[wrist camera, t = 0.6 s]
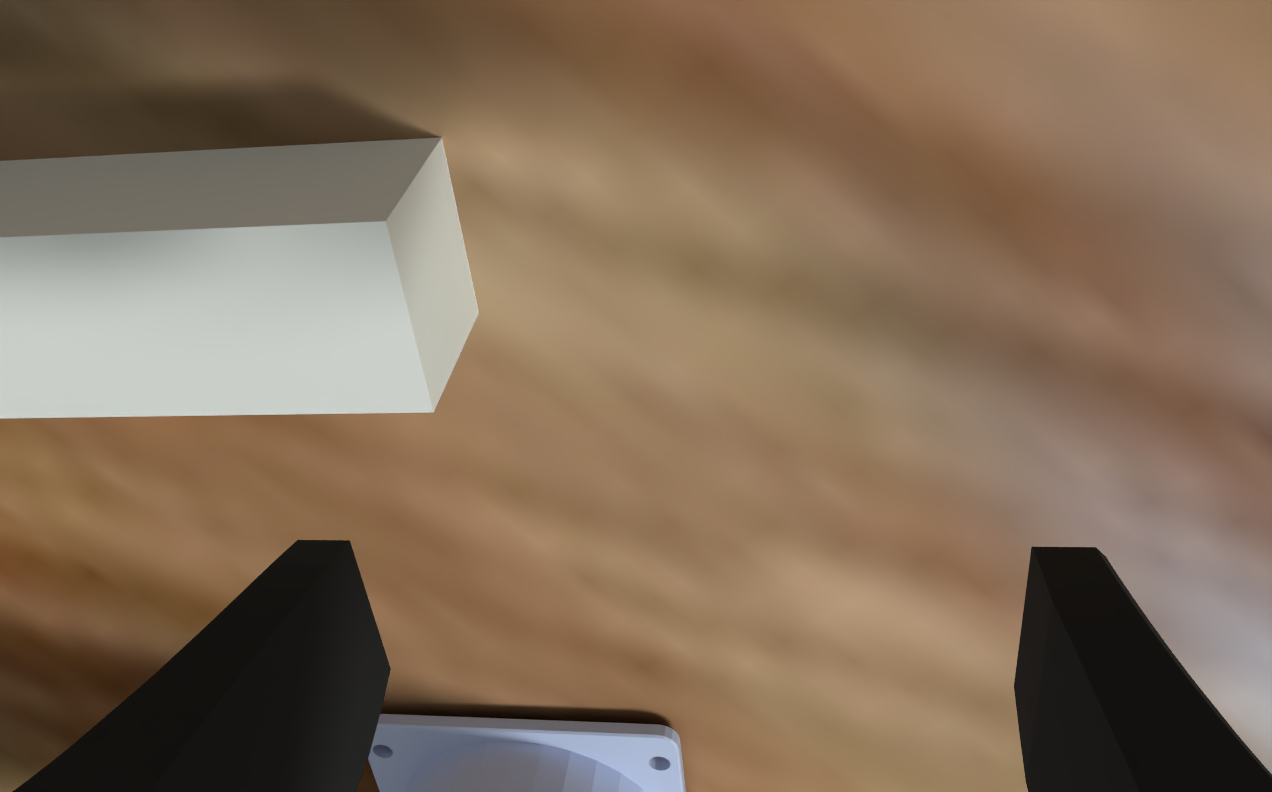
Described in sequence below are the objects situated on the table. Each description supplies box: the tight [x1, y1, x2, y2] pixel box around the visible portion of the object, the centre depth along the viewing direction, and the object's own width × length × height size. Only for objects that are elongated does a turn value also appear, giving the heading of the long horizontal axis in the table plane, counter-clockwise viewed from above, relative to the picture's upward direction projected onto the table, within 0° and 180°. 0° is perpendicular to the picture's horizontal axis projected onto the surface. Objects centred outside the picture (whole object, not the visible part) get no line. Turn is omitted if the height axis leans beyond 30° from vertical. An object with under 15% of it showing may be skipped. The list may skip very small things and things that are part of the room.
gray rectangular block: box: [0, 137, 479, 418], centre depth 21 cm, size 4×12×4 cm, turn 96°
